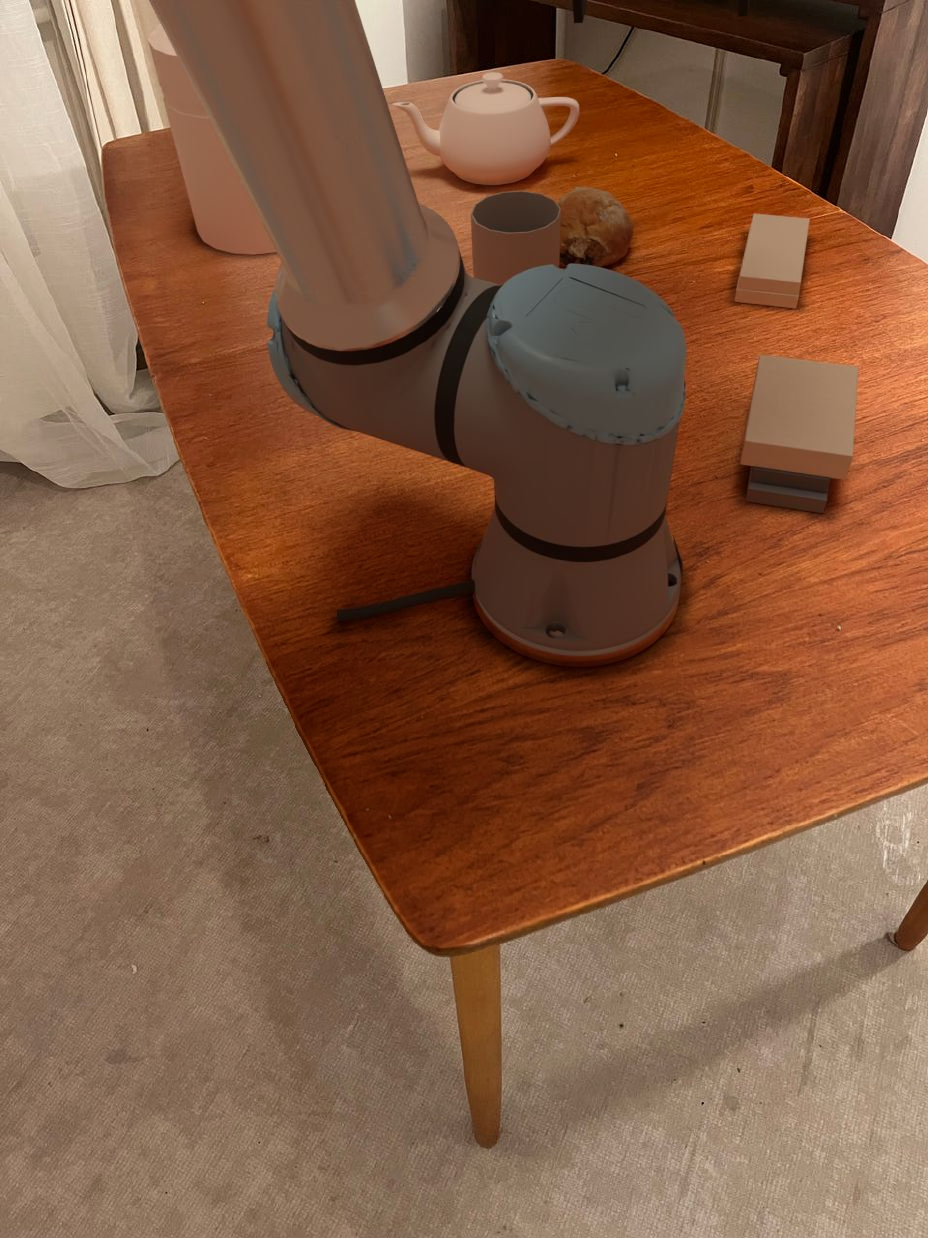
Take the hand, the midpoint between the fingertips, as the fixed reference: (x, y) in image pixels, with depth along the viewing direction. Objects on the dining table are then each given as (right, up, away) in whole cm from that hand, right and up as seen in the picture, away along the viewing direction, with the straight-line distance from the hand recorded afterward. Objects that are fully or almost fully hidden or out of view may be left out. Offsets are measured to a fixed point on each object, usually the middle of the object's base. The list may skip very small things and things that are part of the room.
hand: (660, 10), depth 83 cm
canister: (-40, -5, +32) cm, 51 cm away
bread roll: (-4, -11, +24) cm, 27 cm away
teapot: (-14, +4, +38) cm, 40 cm away
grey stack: (+11, -37, 0) cm, 39 cm away
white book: (+11, -36, -2) cm, 37 cm away
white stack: (+15, -15, +19) cm, 29 cm away
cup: (-11, -20, +17) cm, 28 cm away
